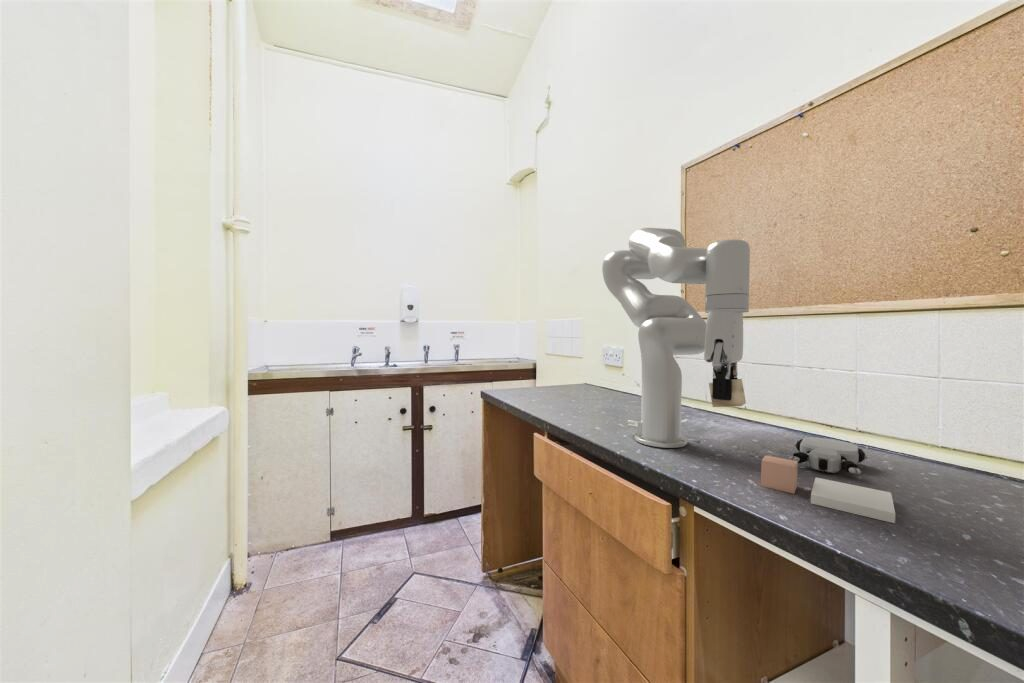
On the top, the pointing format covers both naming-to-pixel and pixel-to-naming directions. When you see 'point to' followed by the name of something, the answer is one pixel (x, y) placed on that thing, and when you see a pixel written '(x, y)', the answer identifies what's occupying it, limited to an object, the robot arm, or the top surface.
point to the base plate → (853, 499)
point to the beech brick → (736, 396)
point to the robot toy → (829, 454)
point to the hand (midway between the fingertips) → (725, 397)
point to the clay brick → (779, 474)
